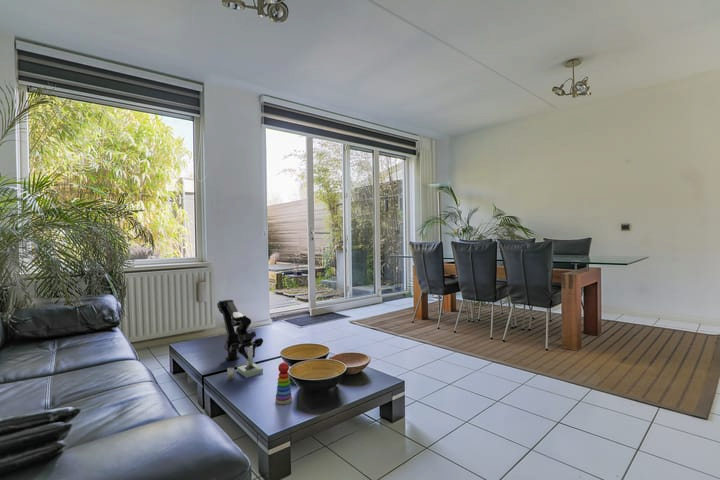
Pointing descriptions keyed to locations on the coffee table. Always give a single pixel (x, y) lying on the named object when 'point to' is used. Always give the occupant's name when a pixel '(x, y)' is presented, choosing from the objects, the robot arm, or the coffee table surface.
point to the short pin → (230, 373)
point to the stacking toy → (283, 385)
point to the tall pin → (249, 357)
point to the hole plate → (252, 372)
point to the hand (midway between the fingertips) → (250, 358)
